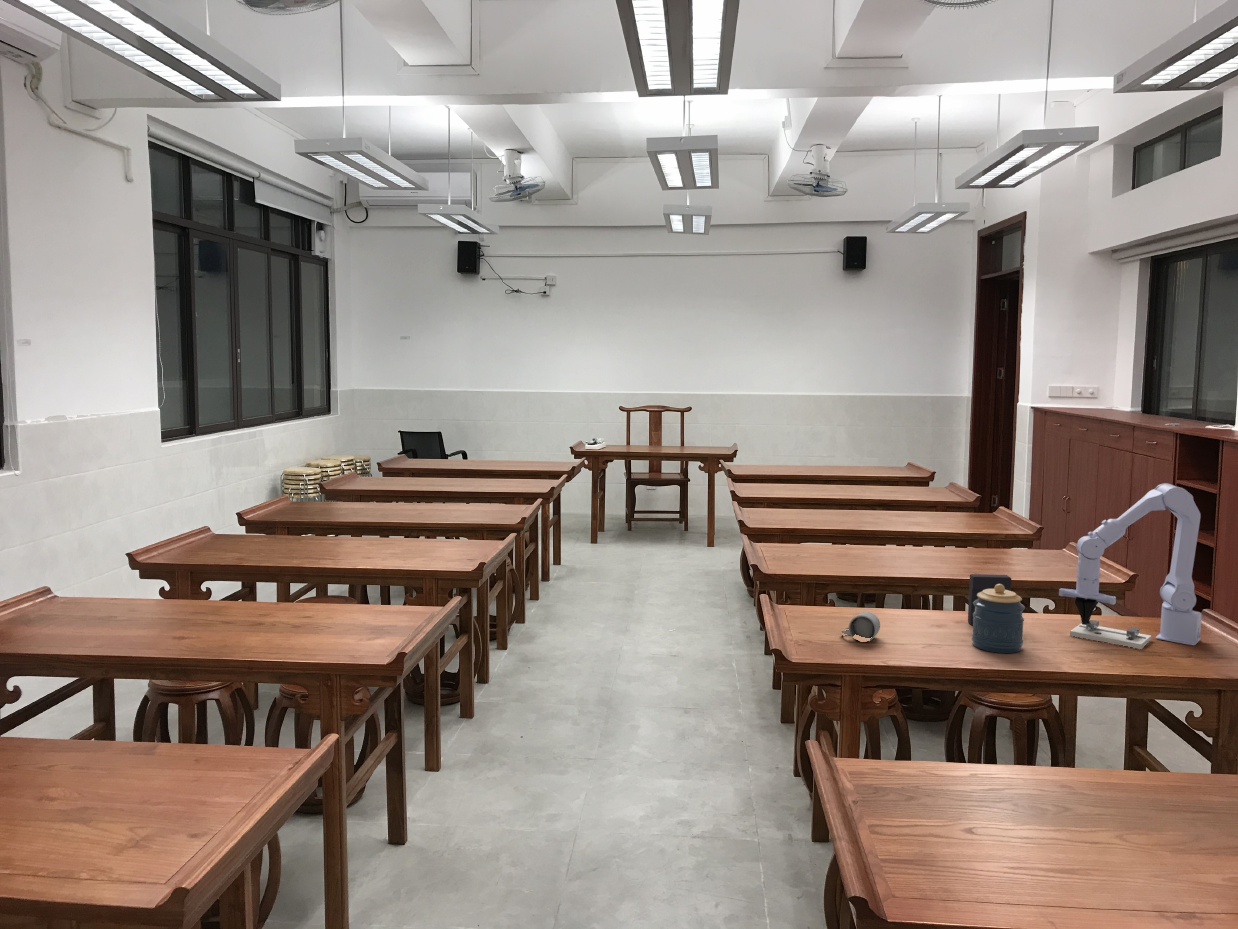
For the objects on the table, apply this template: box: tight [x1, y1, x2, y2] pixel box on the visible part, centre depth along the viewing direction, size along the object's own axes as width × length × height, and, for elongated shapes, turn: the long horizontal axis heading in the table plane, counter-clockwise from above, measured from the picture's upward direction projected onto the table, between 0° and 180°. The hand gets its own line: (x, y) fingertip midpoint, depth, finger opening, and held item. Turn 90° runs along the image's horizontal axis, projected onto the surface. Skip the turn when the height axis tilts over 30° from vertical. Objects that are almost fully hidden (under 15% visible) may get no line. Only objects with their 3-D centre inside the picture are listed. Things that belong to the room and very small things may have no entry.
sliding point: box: [1086, 619, 1100, 630], centre depth 252 cm, size 2×6×2 cm, turn 136°
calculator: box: [967, 573, 1012, 626], centre depth 262 cm, size 11×4×15 cm, turn 84°
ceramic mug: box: [840, 611, 881, 642], centre depth 248 cm, size 11×8×8 cm
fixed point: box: [1126, 626, 1140, 638], centre depth 245 cm, size 2×6×2 cm, turn 136°
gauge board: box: [1069, 622, 1152, 650], centre depth 249 cm, size 18×11×2 cm, turn 46°
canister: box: [971, 584, 1026, 654], centre depth 240 cm, size 13×13×18 cm
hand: (1085, 624), depth 253 cm, fingers closed
